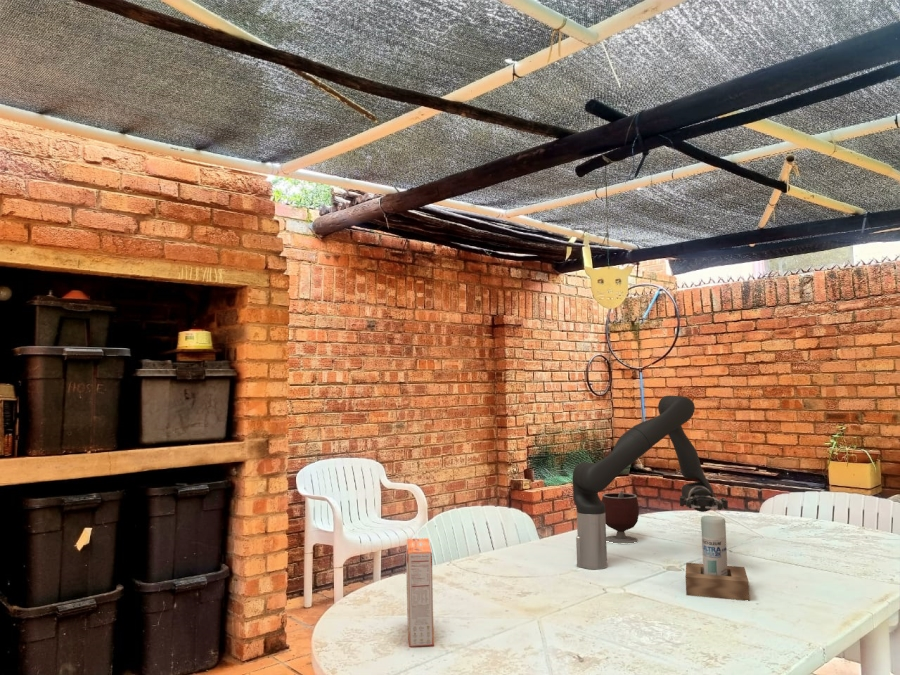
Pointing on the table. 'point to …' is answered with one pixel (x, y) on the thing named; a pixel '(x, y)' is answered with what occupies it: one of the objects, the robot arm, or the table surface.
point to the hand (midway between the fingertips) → (704, 505)
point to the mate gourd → (621, 515)
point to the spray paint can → (714, 545)
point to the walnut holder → (717, 583)
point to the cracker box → (419, 592)
